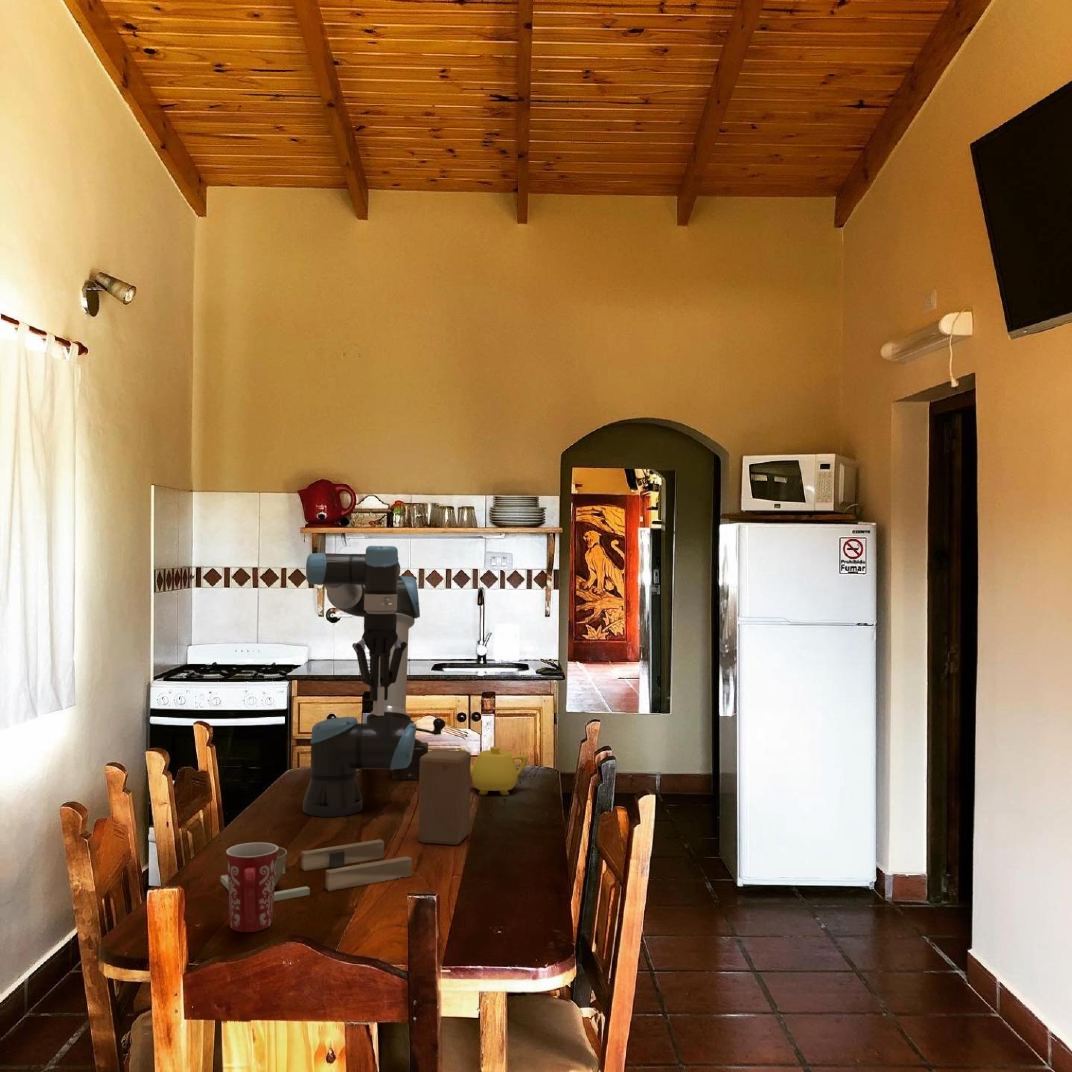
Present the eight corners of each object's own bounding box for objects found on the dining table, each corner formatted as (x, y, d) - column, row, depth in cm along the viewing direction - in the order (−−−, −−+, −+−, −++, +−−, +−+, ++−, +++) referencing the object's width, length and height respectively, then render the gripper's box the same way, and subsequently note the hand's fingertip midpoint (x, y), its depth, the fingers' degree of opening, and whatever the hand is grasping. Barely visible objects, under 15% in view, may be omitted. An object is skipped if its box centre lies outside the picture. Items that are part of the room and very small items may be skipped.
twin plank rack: (301, 868, 206) (301, 851, 206) (380, 855, 216) (380, 839, 216) (329, 891, 193) (329, 873, 193) (411, 875, 202) (412, 858, 202)
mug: (227, 916, 178) (229, 842, 179) (278, 914, 180) (280, 840, 180) (218, 944, 166) (219, 864, 166) (273, 941, 168) (274, 862, 168)
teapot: (458, 784, 282) (459, 741, 283) (527, 786, 282) (528, 743, 282) (454, 796, 269) (454, 751, 269) (526, 797, 269) (527, 752, 269)
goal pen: (220, 881, 197) (220, 875, 197) (282, 871, 204) (282, 865, 204) (244, 906, 183) (244, 900, 183) (309, 894, 190) (309, 888, 190)
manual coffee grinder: (391, 780, 286) (392, 719, 286) (393, 772, 297) (394, 713, 297) (444, 780, 287) (445, 719, 287) (445, 772, 298) (446, 713, 298)
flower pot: (296, 884, 196) (297, 848, 196) (265, 901, 187) (266, 863, 187) (255, 878, 200) (255, 842, 200) (222, 893, 190) (223, 856, 190)
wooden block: (458, 846, 223) (460, 758, 223) (416, 843, 225) (418, 756, 225) (470, 834, 233) (471, 750, 233) (430, 831, 235) (431, 747, 235)
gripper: (360, 614, 219) (358, 719, 219) (413, 612, 226) (411, 715, 226) (347, 612, 225) (345, 714, 225) (399, 610, 233) (397, 710, 232)
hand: (378, 714), depth 225 cm, fingers closed
